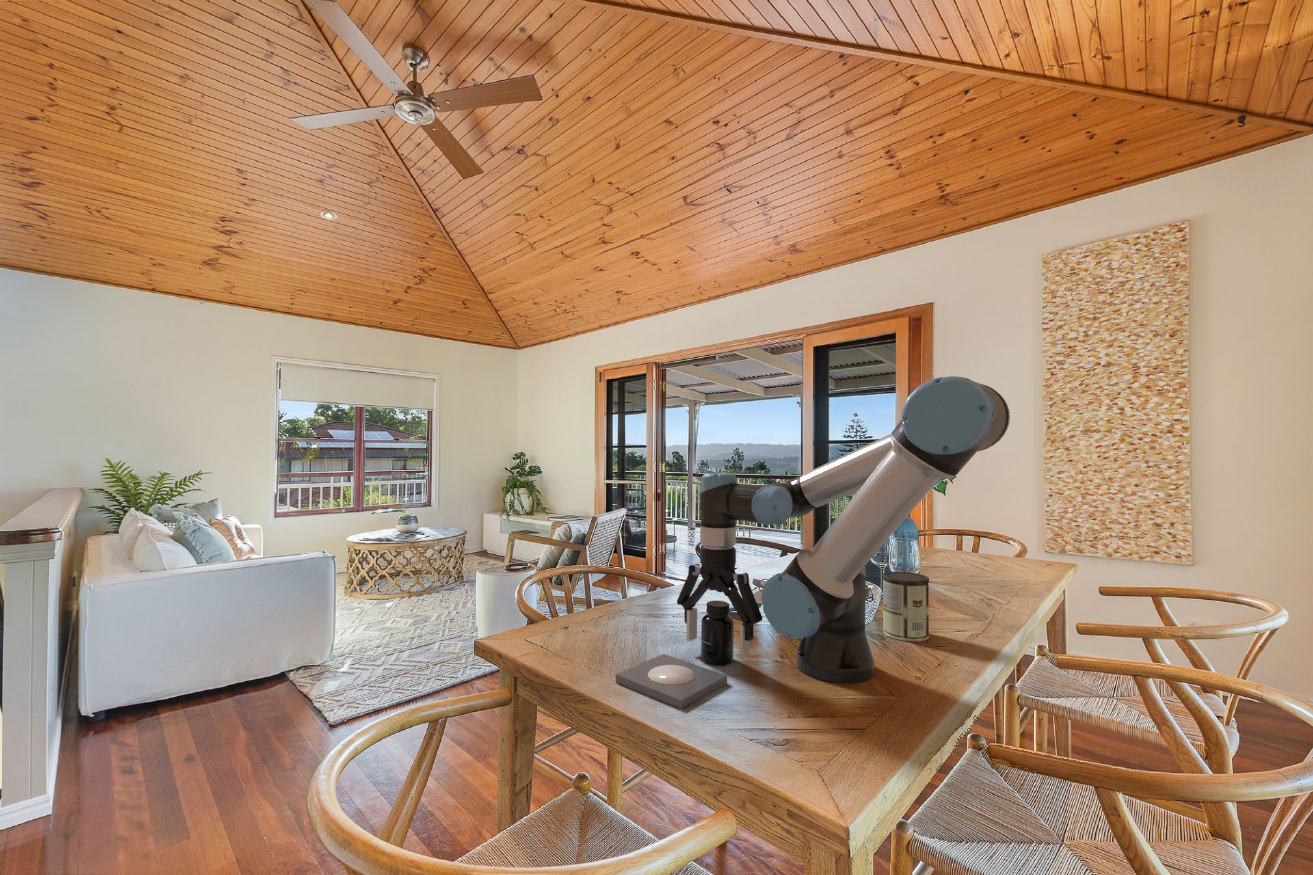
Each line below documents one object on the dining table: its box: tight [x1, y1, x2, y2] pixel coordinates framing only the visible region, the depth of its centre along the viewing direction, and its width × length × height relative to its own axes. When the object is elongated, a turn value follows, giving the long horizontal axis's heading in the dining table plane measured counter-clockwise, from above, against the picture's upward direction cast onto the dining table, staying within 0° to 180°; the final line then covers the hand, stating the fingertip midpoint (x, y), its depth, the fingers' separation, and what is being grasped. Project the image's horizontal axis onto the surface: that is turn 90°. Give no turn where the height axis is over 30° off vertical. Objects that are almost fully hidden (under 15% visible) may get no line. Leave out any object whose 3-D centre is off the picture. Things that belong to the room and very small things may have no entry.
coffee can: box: [882, 571, 930, 643], centre depth 135 cm, size 10×10×14 cm
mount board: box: [615, 653, 728, 710], centre depth 107 cm, size 16×14×2 cm
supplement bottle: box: [700, 600, 735, 667], centre depth 118 cm, size 7×7×12 cm
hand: (717, 647), depth 118 cm, fingers open, 13 cm apart
